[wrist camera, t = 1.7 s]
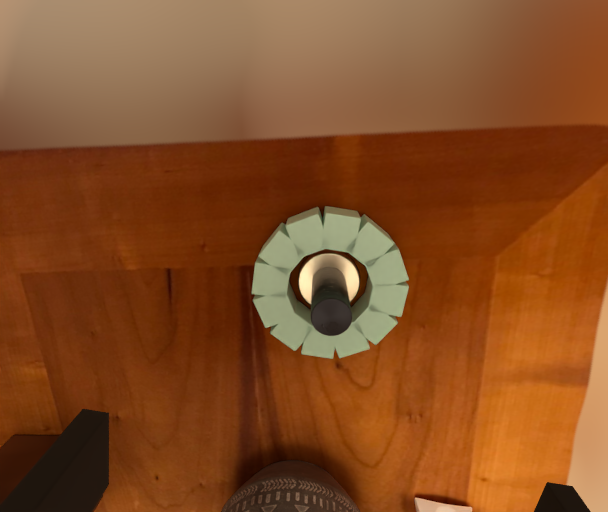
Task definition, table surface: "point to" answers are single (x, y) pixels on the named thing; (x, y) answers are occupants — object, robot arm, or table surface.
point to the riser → (21, 459)
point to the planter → (291, 491)
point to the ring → (340, 237)
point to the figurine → (438, 506)
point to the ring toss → (329, 289)
